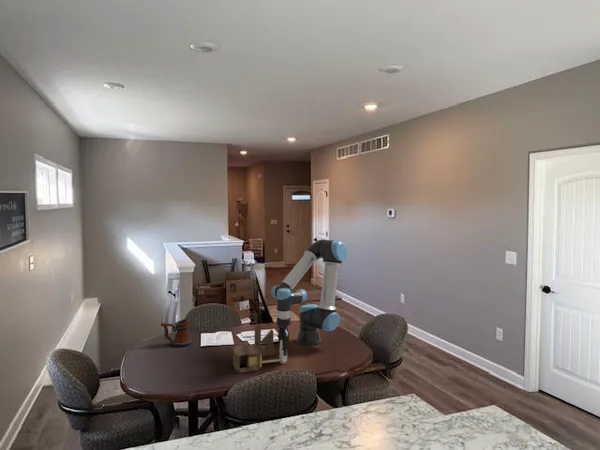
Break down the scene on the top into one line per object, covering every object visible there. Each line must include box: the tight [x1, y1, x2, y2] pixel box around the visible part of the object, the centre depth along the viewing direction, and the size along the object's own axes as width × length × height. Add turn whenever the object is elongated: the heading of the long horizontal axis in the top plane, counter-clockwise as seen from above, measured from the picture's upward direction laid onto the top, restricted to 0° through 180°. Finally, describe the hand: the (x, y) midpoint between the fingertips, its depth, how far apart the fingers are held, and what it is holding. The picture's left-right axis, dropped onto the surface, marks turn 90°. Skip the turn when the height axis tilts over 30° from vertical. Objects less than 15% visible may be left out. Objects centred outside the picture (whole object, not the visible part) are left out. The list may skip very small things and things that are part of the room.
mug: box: [160, 318, 193, 348], centre depth 258 cm, size 18×12×15 cm, turn 108°
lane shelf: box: [231, 343, 261, 374], centre depth 224 cm, size 13×12×10 cm
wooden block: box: [254, 323, 274, 357], centre depth 241 cm, size 4×11×18 cm, turn 111°
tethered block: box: [245, 340, 287, 368], centre depth 228 cm, size 22×6×12 cm, turn 110°
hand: (283, 359), depth 232 cm, fingers closed on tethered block, 4 cm apart
